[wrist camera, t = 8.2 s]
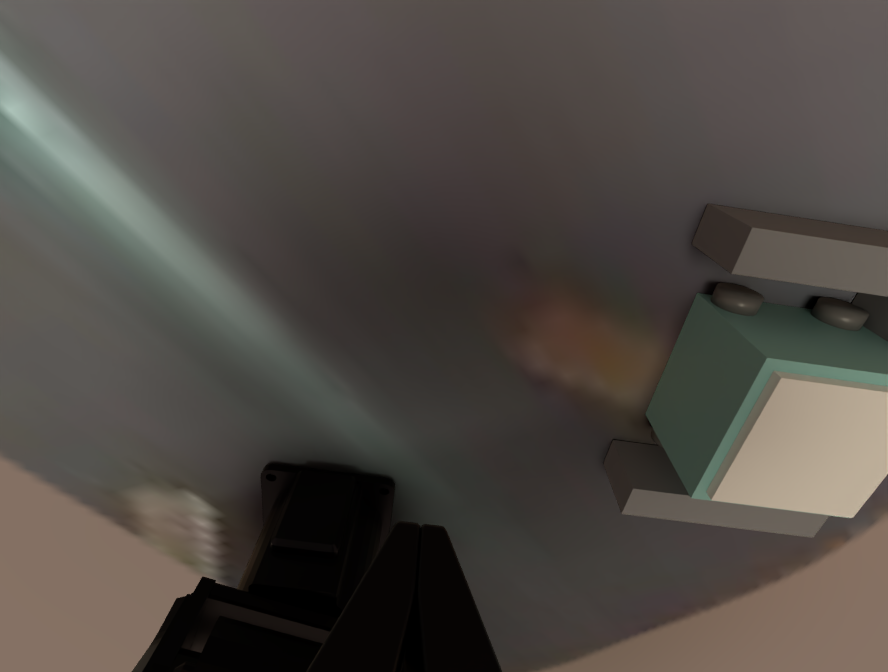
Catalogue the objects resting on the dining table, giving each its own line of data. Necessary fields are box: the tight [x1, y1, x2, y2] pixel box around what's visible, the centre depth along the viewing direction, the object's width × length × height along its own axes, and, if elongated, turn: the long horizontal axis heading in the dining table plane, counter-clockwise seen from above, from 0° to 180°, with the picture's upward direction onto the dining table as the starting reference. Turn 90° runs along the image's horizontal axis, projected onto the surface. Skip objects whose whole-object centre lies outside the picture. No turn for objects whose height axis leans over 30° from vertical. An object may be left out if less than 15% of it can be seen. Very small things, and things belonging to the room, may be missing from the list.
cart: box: [645, 283, 888, 518], centre depth 18 cm, size 7×6×5 cm
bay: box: [603, 204, 888, 538], centre depth 19 cm, size 12×8×3 cm
